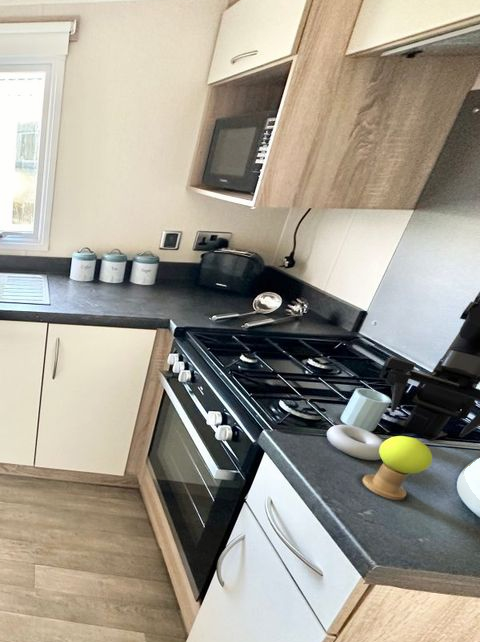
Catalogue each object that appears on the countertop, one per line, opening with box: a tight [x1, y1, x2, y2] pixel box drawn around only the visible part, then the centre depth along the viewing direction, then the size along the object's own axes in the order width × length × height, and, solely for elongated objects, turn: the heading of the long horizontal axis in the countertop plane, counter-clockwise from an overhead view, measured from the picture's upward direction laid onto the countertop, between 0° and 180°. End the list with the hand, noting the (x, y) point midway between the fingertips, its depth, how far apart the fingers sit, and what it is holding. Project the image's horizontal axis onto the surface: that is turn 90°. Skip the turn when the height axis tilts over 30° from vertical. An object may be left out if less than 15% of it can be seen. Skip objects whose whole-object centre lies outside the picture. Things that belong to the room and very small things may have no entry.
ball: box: [379, 435, 433, 474], centre depth 75 cm, size 7×7×7 cm
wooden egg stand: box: [362, 462, 410, 501], centre depth 77 cm, size 6×6×5 cm
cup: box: [340, 387, 392, 432], centre depth 96 cm, size 6×6×8 cm
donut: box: [326, 424, 385, 461], centre depth 88 cm, size 10×4×10 cm
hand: (425, 423), depth 77 cm, fingers open, 9 cm apart
